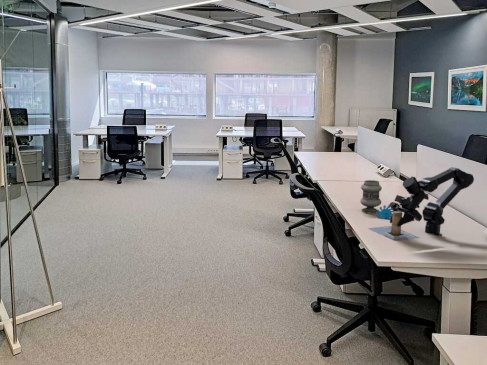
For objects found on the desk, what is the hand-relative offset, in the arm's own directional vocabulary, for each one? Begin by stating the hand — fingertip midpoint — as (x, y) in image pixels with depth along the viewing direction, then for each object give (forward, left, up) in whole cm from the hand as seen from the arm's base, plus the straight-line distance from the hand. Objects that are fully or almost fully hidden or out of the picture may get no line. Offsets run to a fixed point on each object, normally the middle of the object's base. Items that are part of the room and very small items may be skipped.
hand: (393, 224), depth 232 cm
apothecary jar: (-22, -52, -8) cm, 57 cm away
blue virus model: (-19, -32, -8) cm, 38 cm away
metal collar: (-1, 0, -6) cm, 6 cm away
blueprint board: (-4, -6, -7) cm, 10 cm away
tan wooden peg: (-1, 0, -6) cm, 6 cm away
